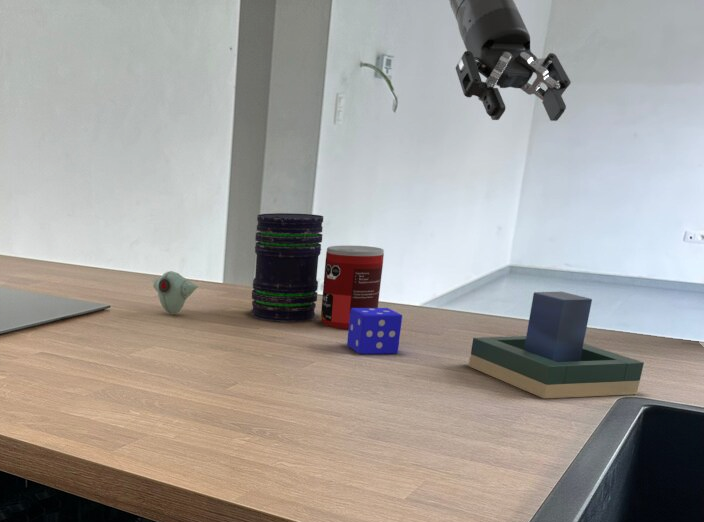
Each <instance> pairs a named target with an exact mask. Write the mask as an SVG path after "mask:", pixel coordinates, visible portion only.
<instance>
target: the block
mask: <svg viewBox="0 0 704 522" xmlns="http://www.w3.org/2000/svg"><path fill="white" fill-rule="evenodd" d="M592 302H593V299H592V298H590V297H586V296H582V295H578V294H573V293H569V292H564V291H534V292H533V295H532V300H531V307H530V312H529V318H528V324H527V330H526V335H525V336H526V341H525V347H524V350H525V351H528V352H530V353H533V354H536V355H539V356H541V357H544V358H547V359H550V360H553V361H555V362H576V361H580V359H581V354H582V349H583V344H585V338H586V333H587V328H588V324H589V323H588V322H589V317H590V312H591V307H592Z"/></svg>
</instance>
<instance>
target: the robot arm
mask: <svg viewBox="0 0 704 522" xmlns="http://www.w3.org/2000/svg"><path fill="white" fill-rule="evenodd" d="M448 2H449V6H450V8H451V11H452V13H453V15H454V18H455V20H456V23H457V27H458V31H459V34H460V37H461V40H462V42H463V45H464V47H465V50H466V51H464V52H463V54H462V55H461V57H460V59H459V61H458V62H457V64H456V66H455V71H456V74H457V78H458V81H459V83H460V87H461V89H462V93H463V96H465V97H466V98H469V99H470V98H472V97H473V96H474V97H476V98H477V100H479V101H481V103H482V105H483V107H484V110H485V112H486V114H487V115H488V116H489V117H490V119H491V120H492V121H499V120H500V119H501V117H502V116H503V115H504V113H505V112H506V107H507V106H506V104H505V101H504V100H503V97H502V95H501V93H500V90H499V89H507V88H514V89H520V90H521V91H522V92H524V93H525V94H527V95H528V96H531V95H534V96H536V97H537V98H539V99H540V100H541V101H542V105H543V107H544V109H545V112H546V115H547V116H548V118H549V121H550V122H557V121H559V119H560V118H561V117H562V115H563V114H564V113H565V110H566V109H567V105H566V103H565V100H564V99H563V98H564V97H563V94H564V92H566V90H567V89H568V87H569V86H570V85H571V83H572V81H571V80H570V78H569V76H568V74H567V72H566V71H565V68H564V67H563V65H562V63H561V62H560V60H559V58H558V56H557V55H556V53H552V52H550V53H548V54H547V56H546V57H544V58H538V57H537V56H536V55H535V54H534V53H533V52H532V50H531V35H530V33H529V31H528V29H527V25H526V24H525V22H524V20H523V18H522V15H521V13H520V12H519V9H518V7H517V4H516V3H515V1H514V0H448ZM534 74H535V75H536V78H535V80H534V81H532V84H531V83H529V81H530V80H531V78H532V76H533V75H534ZM481 76H483V77H484V78H486V79H485V81H483V80H482V78H481ZM542 84H543V85H545V86H546V87H547V88H546V90H545V89H544V88H542V87H541V85H542ZM496 86H498V87H499V88H498V87H496Z"/></svg>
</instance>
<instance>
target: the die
mask: <svg viewBox="0 0 704 522" xmlns="http://www.w3.org/2000/svg"><path fill="white" fill-rule="evenodd" d="M402 321H403V315H402V314H401V313H399V312H398V311H395V310H393V309H392V308H389V307H378V308H351V310H350V320H349V329H347V330H348V333H347V340H346V346H347V347H348V348H350V349H351V350H353V351H354V352H356V353H357V354H359V355H397V354H398V353H399V347H400V338H401V329H402Z"/></svg>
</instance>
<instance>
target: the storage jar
mask: <svg viewBox="0 0 704 522" xmlns="http://www.w3.org/2000/svg"><path fill="white" fill-rule="evenodd" d="M256 218H257V219H256V221H257V225H256V231H257V232H255V239H254V240H255V247H254V253H255V255H256V260H255V272H254V273H255V275H254V278H253V279H252V290H251V299H252V302H251V305H252V310H251V317H253V318H254V319H258V320H263V321H268V322H269V321H270V322H281V323H298V322H299V323H300V322H307V321H312V320H314V319H315V317H316V312H315V309H316V308H317V307H316V306H317V304H316V303H315V302H317V301H318V294H319V293H318V292H317V291H318V287H319V282H318V280H317V276H318V268H319V257H320V255H321V252H322V244H321V243H323V236H324V235H323V234H322V233H323V228H324V227H323V223H324V216H323V215H320V214H312V213H288V212H287V213H286V212H285V213H284V212H281V213H277V212H276V213H261V214H257V217H256Z"/></svg>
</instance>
